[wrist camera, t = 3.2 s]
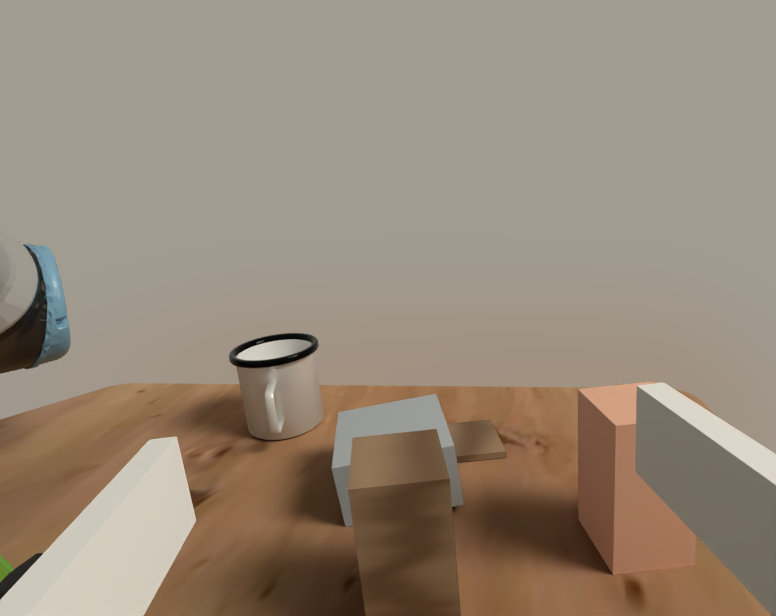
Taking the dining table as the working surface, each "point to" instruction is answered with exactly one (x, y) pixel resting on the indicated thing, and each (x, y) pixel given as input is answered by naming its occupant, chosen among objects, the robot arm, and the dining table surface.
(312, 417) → the mug
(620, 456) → the terracotta block
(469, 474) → the dining table surface
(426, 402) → the grey block
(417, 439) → the walnut block
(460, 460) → the walnut tile
